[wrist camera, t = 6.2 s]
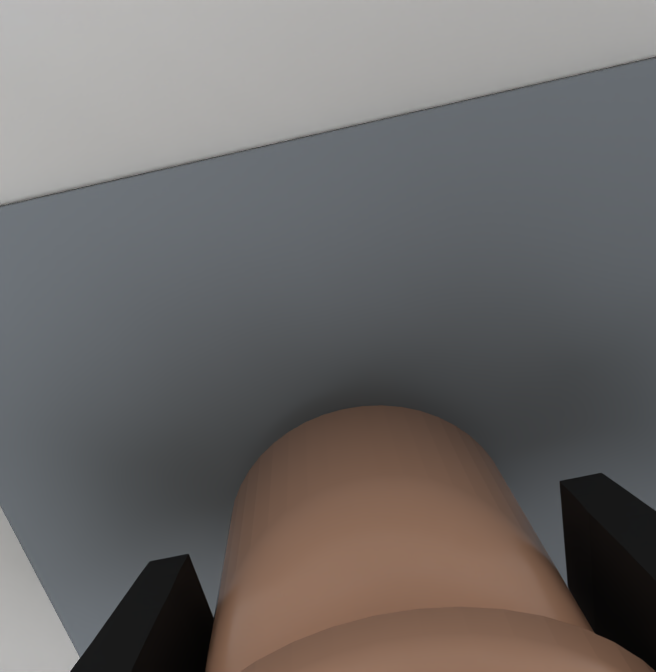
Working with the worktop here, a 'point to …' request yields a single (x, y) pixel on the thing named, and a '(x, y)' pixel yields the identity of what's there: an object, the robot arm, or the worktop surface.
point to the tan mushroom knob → (392, 560)
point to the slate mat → (329, 321)
